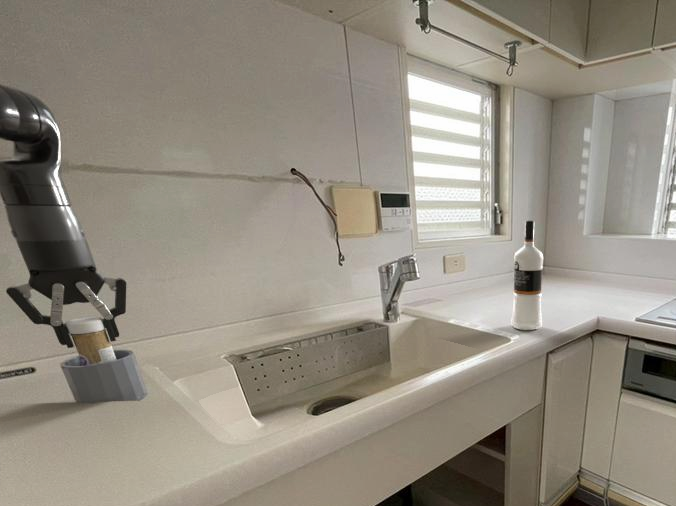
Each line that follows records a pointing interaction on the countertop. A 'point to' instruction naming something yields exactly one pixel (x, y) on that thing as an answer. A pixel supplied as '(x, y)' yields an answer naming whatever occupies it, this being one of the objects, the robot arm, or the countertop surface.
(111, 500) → the countertop surface
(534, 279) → the vodka
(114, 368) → the blue-grey round container
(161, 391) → the countertop surface
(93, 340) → the sprinkles bottle
